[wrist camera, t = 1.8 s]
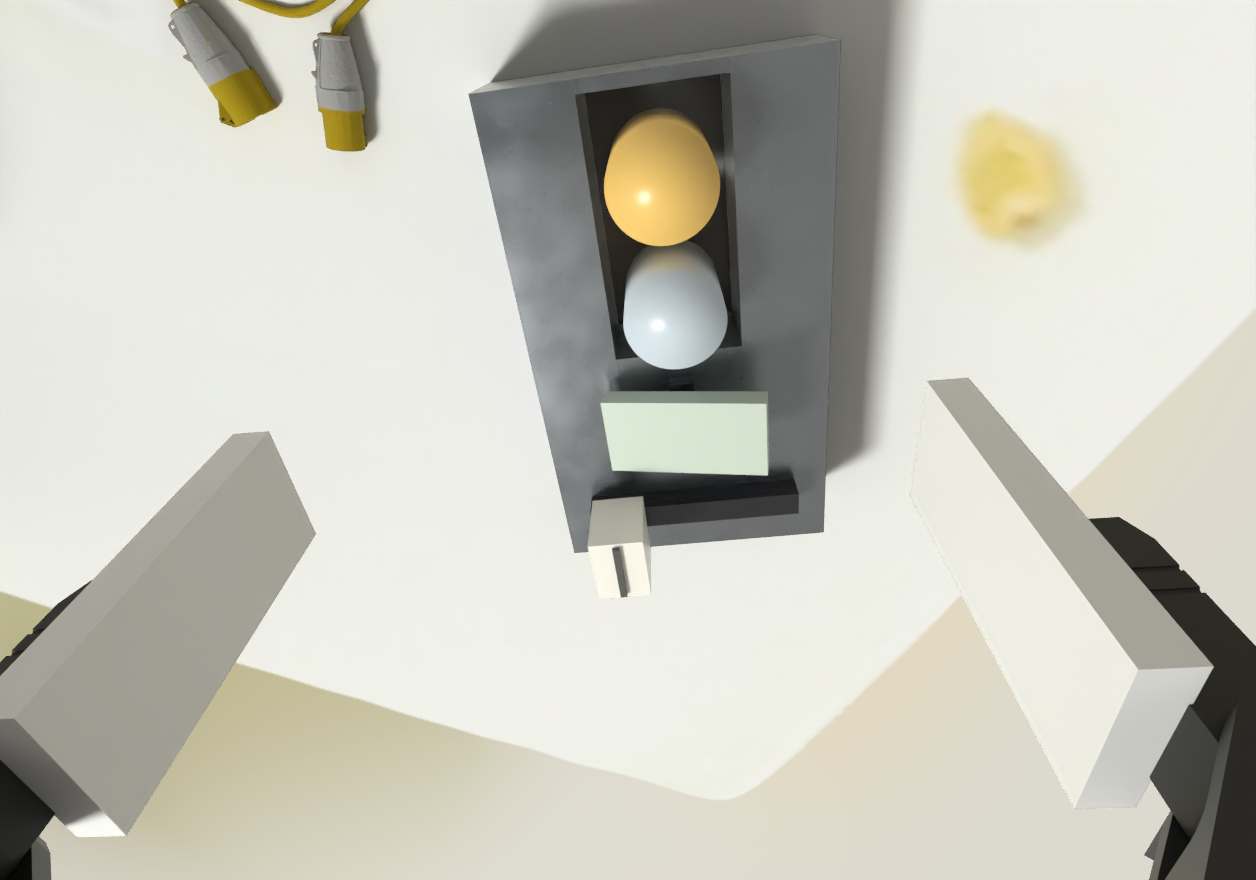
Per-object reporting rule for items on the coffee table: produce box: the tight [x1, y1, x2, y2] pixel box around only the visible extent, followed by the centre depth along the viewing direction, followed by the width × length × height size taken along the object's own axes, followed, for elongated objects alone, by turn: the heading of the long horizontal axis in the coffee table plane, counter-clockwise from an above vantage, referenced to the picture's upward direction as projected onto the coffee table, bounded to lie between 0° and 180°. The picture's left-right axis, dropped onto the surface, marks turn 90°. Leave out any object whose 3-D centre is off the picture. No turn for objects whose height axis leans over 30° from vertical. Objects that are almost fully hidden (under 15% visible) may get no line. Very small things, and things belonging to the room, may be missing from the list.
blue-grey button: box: [623, 240, 728, 369], centre depth 28 cm, size 4×4×4 cm
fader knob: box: [588, 496, 651, 599], centre depth 31 cm, size 3×2×3 cm
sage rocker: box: [601, 391, 769, 476], centre depth 30 cm, size 4×7×1 cm, turn 97°
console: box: [469, 35, 841, 553], centre depth 31 cm, size 22×13×5 cm, turn 7°
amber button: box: [604, 108, 720, 246], centre depth 25 cm, size 4×4×4 cm
